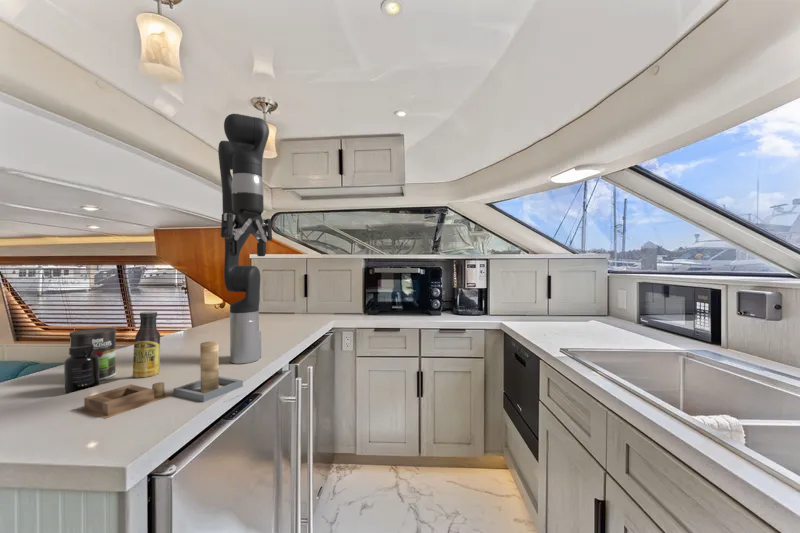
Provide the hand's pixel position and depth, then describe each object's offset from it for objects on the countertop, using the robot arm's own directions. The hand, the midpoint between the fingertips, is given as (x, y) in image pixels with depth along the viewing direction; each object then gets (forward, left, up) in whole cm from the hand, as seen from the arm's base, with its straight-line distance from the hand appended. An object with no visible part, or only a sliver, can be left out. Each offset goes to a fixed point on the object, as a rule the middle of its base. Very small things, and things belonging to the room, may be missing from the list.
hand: (248, 256), depth 88 cm
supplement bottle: (+16, -43, -36) cm, 59 cm away
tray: (+6, -8, -36) cm, 37 cm away
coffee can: (+9, -53, -36) cm, 65 cm away
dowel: (+6, -8, -35) cm, 36 cm away
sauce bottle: (+4, -36, -36) cm, 51 cm away
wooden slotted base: (+18, -19, -36) cm, 44 cm away
